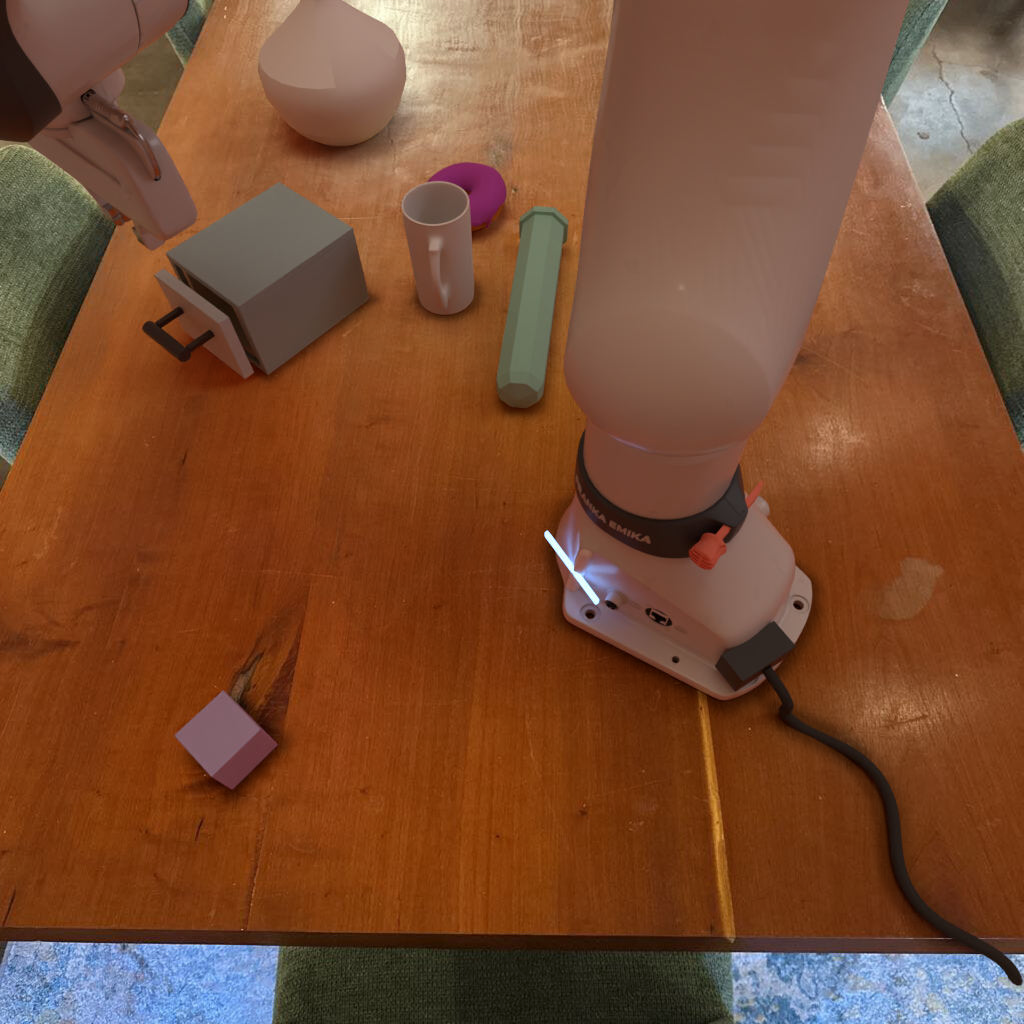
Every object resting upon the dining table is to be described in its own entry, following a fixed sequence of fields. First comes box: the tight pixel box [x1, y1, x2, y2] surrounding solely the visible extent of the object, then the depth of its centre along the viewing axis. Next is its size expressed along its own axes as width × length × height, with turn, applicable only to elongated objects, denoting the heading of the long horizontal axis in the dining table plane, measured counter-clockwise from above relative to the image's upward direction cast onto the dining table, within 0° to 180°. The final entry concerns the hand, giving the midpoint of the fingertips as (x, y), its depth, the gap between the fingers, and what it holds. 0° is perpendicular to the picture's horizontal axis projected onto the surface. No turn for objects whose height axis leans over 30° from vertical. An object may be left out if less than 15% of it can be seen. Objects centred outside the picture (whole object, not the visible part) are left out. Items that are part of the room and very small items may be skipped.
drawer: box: [141, 268, 257, 380], centre depth 78 cm, size 18×10×8 cm, turn 139°
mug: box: [400, 181, 475, 316], centre depth 79 cm, size 10×7×12 cm, turn 179°
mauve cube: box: [174, 690, 279, 791], centre depth 58 cm, size 4×4×4 cm
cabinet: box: [165, 181, 370, 376], centre depth 80 cm, size 15×12×10 cm
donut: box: [426, 161, 508, 233], centre depth 90 cm, size 10×10×5 cm
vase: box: [257, 0, 407, 147], centre depth 94 cm, size 18×18×19 cm
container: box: [495, 205, 569, 409], centre depth 80 cm, size 6×6×25 cm
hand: (137, 231), depth 66 cm, fingers open, 3 cm apart
